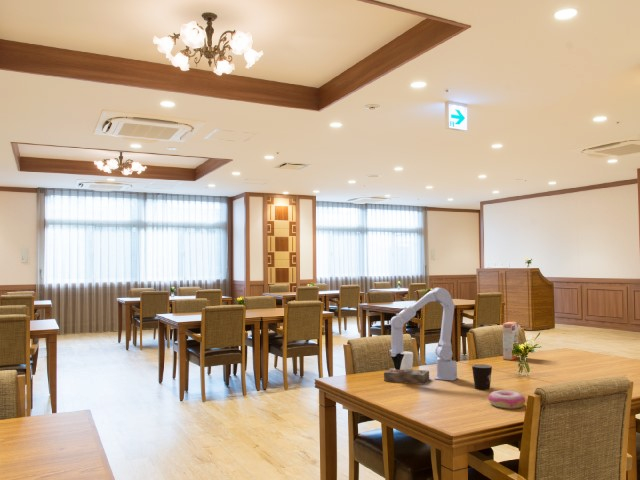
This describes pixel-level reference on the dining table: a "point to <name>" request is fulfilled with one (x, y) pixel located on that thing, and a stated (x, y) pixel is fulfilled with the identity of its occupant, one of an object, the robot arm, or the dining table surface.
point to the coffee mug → (482, 376)
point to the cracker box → (509, 339)
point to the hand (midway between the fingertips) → (397, 369)
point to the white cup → (407, 360)
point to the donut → (506, 399)
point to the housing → (407, 376)
